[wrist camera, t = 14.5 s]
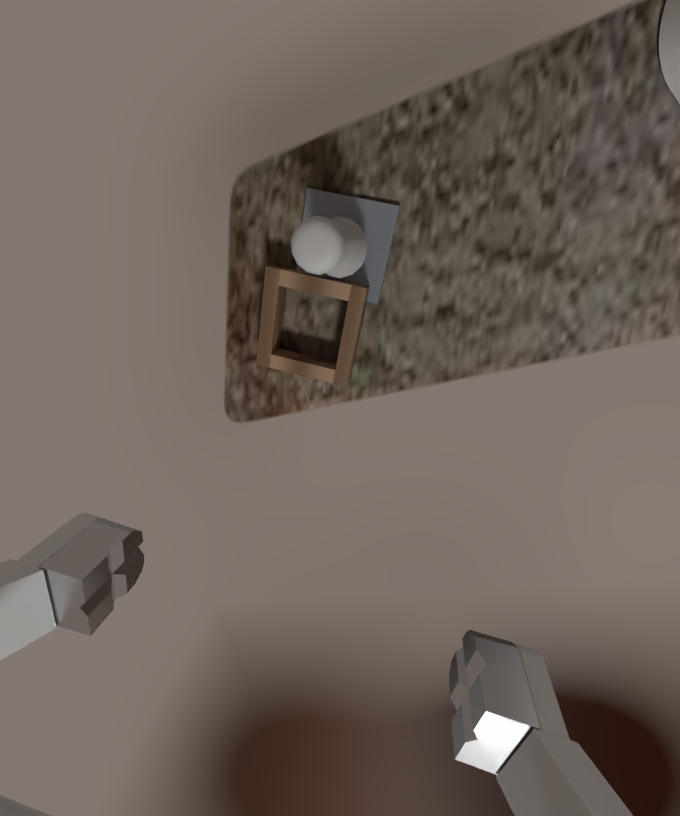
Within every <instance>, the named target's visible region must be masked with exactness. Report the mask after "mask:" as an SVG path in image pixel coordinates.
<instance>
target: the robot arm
mask: <svg viewBox="0 0 680 816" xmlns="http://www.w3.org/2000/svg"><path fill="white" fill-rule="evenodd" d="M659 58H660V64H661V69H662V73H663V76H664V78H665V81H666V83H667V85H668V87H669V89H670V90H671V92H672V93H673V95H674V96H675V98H676V99H677V101H678V102H679V104H680V0H667V1H666V4H665V7H664V11H663V15H662V20H661V25H660V33H659ZM142 542H143V536H142V531H139V530H136V529H133V528H130V527H127V526H124V525H121V524H118V523H115V522H112V521H109V520H106V519H103V518H100V517H97V516H94V515H91V514H87V513H82V514H79V515H76V516H75V517H74V518H72V519H71V520H70V521H68V522H67V523H66V524H65V525H63V526H62V527H60V528H59V529H58V530H56V531H55V532H54V533H53V534H51V535H50V536H49V537H47V538H46V539H45V540H43V541H42V542H41V543H40V544H38V545H37V546H35V547H34V548H33V549H32V550H30V551H29V552H28V553H27V554H25V555H24V556H23V557H21V558H20V559H19V560H17V561H15V560H12V559H10V560H7V561H4V562H2V563H0V660H1V659H3V658H5V657H7V656H9V655H10V654H12V653H14V652H15V651H17V650H19V649H21V648H22V647H24V646H26V645H27V644H29V643H31V642H33V641H34V640H36V639H38V638H40V637H41V636H43V635H45V634H47V633H48V632H50V631H52V630H53V629H55V628H56V625H57V626H60V627H63V628H67V629H70V630H73V631H77V632H80V633H83V634H87V635H90V636H91V635H92V634H93V633H94V632H95V630H96V629H97V628H98V627H99V626H100V625H101V623H102V622H103V621H104V620H105V619H106V617H107V616H108V615H109V614H110V613H111V612H112V611H113V608H114V599H116V598H118V597H120V596H122V595H124V594H127V593H128V592H129V590H130V589H131V588H132V587H133V586H134V584H135V583H136V581H137V579H138V577H139V575H140V574H141V572H142V569H143V564H144V554H143V553H142V551H141V550H140V548H139V547H138V546H139V545H140V544H141V543H142ZM462 641H463V648H462V649H460V650H458V651H456V652H455V655H454V657H453V659H452V662H451V667H450V672H449V693H450V698H451V700H452V702H453V703H454V706H455V707H456V709H457V712H456V714H455V716H454V718H453V719H452V731H453V741H454V754H455V759H456V760H458V761H461V762H464V763H467V764H469V765H472V766H475V767H477V768H480V769H483V770H485V771H488V772H491V773H493V774H496V775H497V776H496V778H497V781H498V783H499V785H500V787H501V789H502V791H503V793H504V795H505V797H506V799H507V801H508V803H509V805H510V807H511V809H512V811H513V813H514V815H515V816H633V815H632V814H631V813H630V811H629V810H628V808H627V807H626V806H625V805H624V803H623V802H622V801H621V799H620V798H619V797H618V795H617V794H616V793H615V791H614V790H613V789H612V787H611V786H610V785H609V784H608V782H607V781H606V780H605V778H604V777H603V775H601V773H600V772H599V770H598V769H597V768H596V766H595V765H594V764H593V762H592V761H591V760H590V758H589V757H588V756H587V755H586V753H585V752H584V750H583V749H582V748H581V747H580V745H579V744H578V743H577V742H574V741H571V740H570V739H569V736H568V733H567V730H566V727H565V724H564V720H563V717H562V714H561V711H560V708H559V705H558V702H557V699H556V696H555V693H554V690H553V687H552V684H551V681H550V678H549V674H548V671H547V669H546V665H545V662H544V659H543V656H542V655H541V653H540V652H539V651H538V650H535V649H532V648H529V647H526V646H522V645H519V644H515V643H513V642H511V641H507V640H504V639H500V638H497V637H493V636H490V635H486V634H483V633H479V632H476V631H472V630H469V631H467V632H466V633H465V635H464V637H463V639H462ZM0 816H51V815H49V814H47V813H44V812H41V811H39V810H36V809H34V808H31V807H29V806H26V805H24V804H21V803H19V802H16V801H14V800H11V799H9V798H6V797H4V796H1V795H0Z"/></svg>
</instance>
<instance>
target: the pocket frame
mask: <svg viewBox="0 0 680 816" xmlns="http://www.w3.org/2000/svg"><path fill="white" fill-rule="evenodd" d="M287 288H292V289H296V290H301V291H305V292H310V293H314V294H319V295H323V296H328V297H332V298H336V299H341V300H345V301H348V306H347V311H346V317H345V322H344V327H343V332H342V337H341V343H340V348H339V353H338V358H337V362H333V361H329V360H325V359H321V358H317V357H313V356H309V355H304V354H300V353H296V352H292V351H288V350H284V349H280V340H281V331H282V323H283V315H284V306H285V298H286V290H287ZM369 288H370V286H365V285H361V284H356V283H352V282H347V281H343V280H338V279H333V278H329V277H324V276H320V275H315V274H311V273H306V272H301V271H297V270H294V269H289V268H285V267H280V266H276V265H274V266H266V267H265V277H264V288H263V299H262V309H261V320H260V331H259V341H258V352H257V363H256V364H257V365H261V366H265V367H269V368H273V369H277V370H281V371H285V372H289V373H293V374H297V375H301V376H305V377H309V378H313V379H317V380H321V381H325V382H329V383H334V384H338V385H342V386H346V387H347V385H348V383H349V381H350V379H351V374H352V370H353V365H354V360H355V355H356V351H357V346H358V341H359V337H360V332H361V327H362V323H363V318H364V313H365V308H366V304H367V297H368V293H369Z"/></svg>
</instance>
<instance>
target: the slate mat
mask: <svg viewBox="0 0 680 816" xmlns="http://www.w3.org/2000/svg"><path fill="white" fill-rule="evenodd" d="M399 209H400V206H398V205H393V204H388V203H382V202H377V201H372V200H367V199H362V198H357V197H352V196H347V195H341V194H336V193H331V192H326V191H321V190H316V189H311V188H307V190H306V198H305V206H304V213H303V220H304V219H307V218H310V217H313V216H321V217H326V218H329V219H331V218H334V217H338V216H339V217H345V218H350V219H352V220H353V221H354V222H355V223H357V224H358V225H359V226H360V227H361V228H362V230H363V233H364V235H365V237H366V239H367V255H366V257H365V259H364V262H363V264H362V266H361V267H360V268H359V269H358V270H357V271H356V272H355V273H353V274H352V275H349V276H346V277H343V278H337V277H333V276H329V275H327V274H326V273H324V274H321V275H320V276H324V277H329V278H333V279H338V280H343V281H347V282H352V283H356V284H361V285H365V286H370V288H369V293H368V297H367V302H370V303H374V304H378V301H379V297H380V293H381V288H382V284H383V279H384V275H385V271H386V266H387V262H388V257H389V253H390V248H391V244H392V240H393V235H394V231H395V226H396V222H397V217H398V213H399ZM296 270H297V271H301V272H306V273H309V272H307V271H305V270H304V269H303V268H302V267H300V266H299V265H298V264H297V268H296ZM311 274H313V273H311ZM315 275H317V274H315Z"/></svg>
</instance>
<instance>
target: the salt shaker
mask: <svg viewBox="0 0 680 816" xmlns="http://www.w3.org/2000/svg"><path fill="white" fill-rule="evenodd" d="M291 249H292V254H293V256H294V258H295V261H296V263H297V264H298V265H299V266H300V267H302V268H303V269H304V270H305V271H307V272H309V273H313V274H317V275H321V274H324V273H326V274H327V275H329V276H333V277H337V278H343V277H346V276H349V275H352V274H353V273H355V272H356V271H357V270H358V269H359V268H360V267H361V266H362V264H363V262H364V259H365V257H366V255H367V239H366V237H365V235H364V233H363V230H362V228H361V227H360V226H359V225H358V224H357V223H355V222H354V221H353V220H352V219H350V218H345V217H339V216H338V217H334V218H331V219H329V218H326V217H321V216H313V217H310V218H307V219H304V220H303V221H302V222H301V223H300V224H299V225H298V226H297V227H296V228H295V230H294V233H293V236H292V238H291Z"/></svg>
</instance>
